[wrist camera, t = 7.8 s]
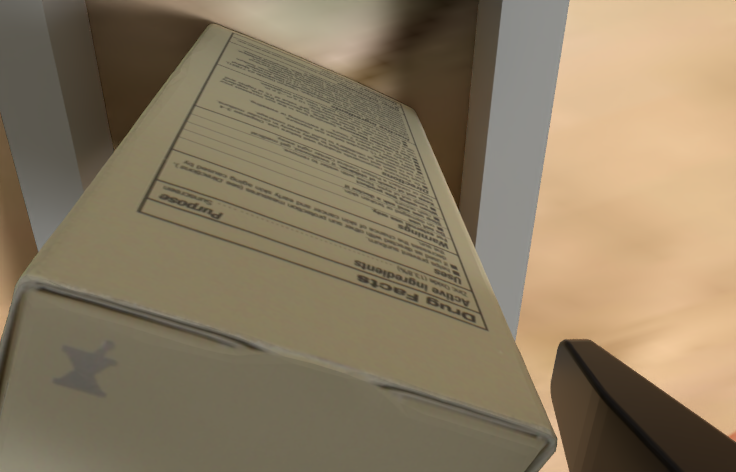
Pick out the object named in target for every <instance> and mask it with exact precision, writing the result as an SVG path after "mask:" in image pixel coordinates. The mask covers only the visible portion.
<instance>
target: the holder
mask: <svg viewBox="0 0 736 472" xmlns="http://www.w3.org/2000/svg"><path fill="white" fill-rule="evenodd" d="M568 6H569V0H479V3H478V13H477V24H476V35H475V45H474V56H473V67H472V77H471V88H470V99H469V109H468V120H467V131H466V141H465V152H464V163H463V173H462V184H461V195H460V206H459V212H460V215H461V217H462V219H463V222H464V224H465V226H466V229H467V231H468V233H469V236H470V238H471V240H472V243H473V245H474V247H475V249H476V252H477V254H478V256H479V259H480V261H481V263H482V266H483V268H484V270H485V273H486V275H487V278H488V280H489V282H490V285H491V287H492V289H493V292H494V294H495V296H496V299H497V301H498V303H499V306H500V308H501V310H502V312H503V315H504V317H505V319H506V322H507V324H508V326H509V329H510V331H511V334H512V336H513V338H514V341H515V340H516V334H517V327H518V321H519V315H520V308H521V302H522V296H523V290H524V283H525V277H526V271H527V264H528V258H529V252H530V246H531V239H532V233H533V227H534V220H535V214H536V208H537V201H538V195H539V189H540V183H541V176H542V170H543V164H544V157H545V151H546V145H547V139H548V132H549V126H550V120H551V113H552V107H553V101H554V94H555V88H556V82H557V76H558V69H559V63H560V57H561V50H562V44H563V38H564V31H565V25H566V19H567V13H568ZM0 113H1V117H2V120H3V124H4V128H5V131H6V135H7V139H8V142H9V146H10V150H11V153H12V157H13V161H14V164H15V168H16V172H17V175H18V179H19V183H20V186H21V190H22V194H23V198H24V201H25V205H26V209H27V212H28V216H29V220H30V223H31V227H32V231H33V234H34V238H35V242H36V245H37V249H38V252H39V251H40V249H41V248H42V247H43V245H44V244H45V243H46V241H47V240H48V239H49V238H50V236H51V235H52V234H53V233H54V231H55V230H56V229H57V227H58V226H59V225H60V224H61V222H62V221H63V220H64V218H65V217H66V216H67V215H68V213H69V212H70V211H71V209H72V208H73V207H74V205H75V204H76V203H77V201H78V200H79V198H80V197H81V195H82V194H83V193H84V191H85V190H86V188H87V187H88V186H89V185H90V184H91V182H92V181H93V180H94V178H95V177H96V175H97V174H98V173H99V171H100V170H101V168H102V167H103V166H104V165H105V163H106V162H107V161H108V159H109V158H110V157H111V155H112V154H113V153H114V150H113V145H112V140H111V134H110V129H109V124H108V118H107V113H106V108H105V103H104V97H103V92H102V87H101V81H100V76H99V71H98V66H97V60H96V55H95V50H94V44H93V39H92V34H91V29H90V23H89V18H88V13H87V7H86V2H85V0H0Z"/></svg>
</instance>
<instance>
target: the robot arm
mask: <svg viewBox="0 0 736 472" xmlns="http://www.w3.org/2000/svg"><path fill="white" fill-rule="evenodd" d="M551 398H552V403H553V407H554V411H555V415H556V419H557V423H558V427H559V431H560V435H561V439H562V443H563V447H564V451H565V456H566V460H567V464H568V468H569V472H736V442H735V441H734V440H732V439H731V438H729V437H728V436H727V435H725V434H724V433H722V432H721V431H719V430H718V429H717V428H715V427H714V426H712V425H711V424H709V423H708V422H707V421H705V420H704V419H702V418H701V417H700V416H698V415H697V414H695V413H694V412H692V411H691V410H690V409H688V408H687V407H685V406H684V405H682V404H681V403H680V402H678V401H677V400H675V399H674V398H672V397H671V396H670V395H668V394H667V393H665V392H664V391H663V390H661V389H660V388H658V387H657V386H655V385H654V384H653V383H651V382H650V381H648V380H647V379H645V378H644V377H643V376H641V375H640V374H638V373H637V372H636V371H634V370H633V369H631V368H630V367H628V366H627V365H626V364H624V363H623V362H621V361H620V360H618V359H617V358H616V357H614V356H613V355H611V354H610V353H609V352H607V351H606V350H604V349H603V348H601V347H600V346H599V345H597V344H596V343H594V342H593V341H591V340H588V339H565V340H563V341H562V342H560V344H559V346H558V349H557V354H556V359H555V364H554V369H553V374H552V379H551Z"/></svg>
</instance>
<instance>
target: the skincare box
mask: <svg viewBox="0 0 736 472" xmlns="http://www.w3.org/2000/svg"><path fill="white" fill-rule="evenodd" d="M556 447H557V437H556V435H555V433H554V430H553V428H552V426H551V423H550V421H549V419H548V416H547V414H546V411H545V409H544V407H543V405H542V402H541V400H540V398H539V396H538V393H537V391H536V389H535V386H534V384H533V382H532V380H531V377H530V375H529V373H528V370H527V368H526V365H525V363H524V361H523V358H522V356H521V353H520V351H519V349H518V347H517V345H516V343H515V341H514V338H513V336H512V334H511V331H510V329H509V326H508V324H507V322H506V319H505V317H504V315H503V312H502V310H501V308H500V306H499V303H498V301H497V299H496V296H495V294H494V292H493V289H492V287H491V285H490V282H489V280H488V278H487V275H486V273H485V270H484V268H483V266H482V263H481V261H480V259H479V256H478V254H477V252H476V249H475V247H474V245H473V243H472V240H471V238H470V236H469V233H468V231H467V229H466V226H465V224H464V222H463V219H462V217H461V215H460V212H459V210H458V208H457V205H456V203H455V201H454V198H453V196H452V194H451V192H450V190H449V187H448V185H447V183H446V180H445V178H444V176H443V173H442V171H441V169H440V166H439V164H438V162H437V159H436V157H435V155H434V153H433V151H432V148H431V146H430V143H429V141H428V139H427V136H426V134H425V131H424V129H423V127H422V125H421V123H420V120H419V118H418V116H417V113H416V111H415V110H414V109H412V108H410V107H409V106H407V105H404V104H402V103H400V102H398V101H396V100H394V99H392V98H390V97H388V96H386V95H384V94H381V93H379V92H377V91H375V90H372V89H370V88H368V87H366V86H364V85H361V84H359V83H357V82H355V81H353V80H351V79H348V78H346V77H344V76H342V75H339V74H337V73H335V72H332V71H330V70H328V69H325V68H323V67H321V66H318V65H316V64H314V63H311V62H309V61H306V60H304V59H302V58H300V57H297V56H295V55H292V54H290V53H288V52H285V51H283V50H280V49H278V48H275V47H273V46H270V45H268V44H266V43H263V42H261V41H258V40H255V39H253V38H250V37H248V36H245V35H243V34H240V33H237V32H235V31H232V30H230V29H227V28H225V27H222V26H220V25H217V24H209V25H208V26H207V28H206V29H205V30H204V32H203V33H202V34H201V36H200V37H199V38H198V40H197V41H196V42H195V44H194V45H193V47H192V48H191V49H190V50H189V52H188V53H187V54H186V56H185V57H184V58H183V59H182V61H181V62H180V64H179V65H178V66H177V68H176V69H175V71H174V72H173V73H172V74H171V75H170V77H169V78H168V80H167V81H166V82H165V84H164V85H163V86H162V88H161V89H160V90H159V92H158V93H157V94H156V96H155V97H154V98H153V100H152V101H151V102H150V104H149V105H148V106H147V108H146V109H145V110H144V112H143V113H142V114H141V116H140V117H139V119H138V120H137V121H136V123H135V124H134V125H133V127H132V128H131V130H130V131H129V133H128V134H127V135H126V137H125V138H124V139H123V140H122V142H121V143H120V144H119V146H118V147H117V148H116V150H115V151H114V153H113V154H112V155H111V157H110V158H109V159H108V161H107V162H106V163H105V165H104V166H103V167H102V168H101V170H100V171H99V173H98V174H97V175H96V177H95V178H94V180H93V181H92V182H91V184H90V185H89V186H88V187H87V188H86V190H85V191H84V193H83V194H82V195H81V197H80V198H79V200H78V201H77V203H76V204H75V205H74V207H73V208H72V209H71V211H70V212H69V213H68V215H67V216H66V217H65V218H64V220H63V221H62V222H61V224H60V225H59V226H58V227H57V229H56V230H55V231H54V233H53V234H52V235H51V236H50V238H49V239H48V240H47V241H46V243H45V244H44V245H43V247H42V248H41V249H40V251H39V252H38V253H37V255H36V256H35V257H34V259H33V260H32V261H31V263H30V264H29V266H28V267H27V268H26V270H25V271H24V272H23V274H22V275H21V277H20V278H19V280H18V282H17V284H16V285H15V289H14V294H13V299H12V303H11V306H10V309H9V314H8V318H7V321H6V324H5V327H4V331H3V334H2V337H1V341H0V472H538V471H539V470H540V469H541V468H542V467H543V465H544V464H545V463H546V462H547V461H548V460H549V458H550V457H551V456H552V455H553V454H554V452H555V451H556Z"/></svg>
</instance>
